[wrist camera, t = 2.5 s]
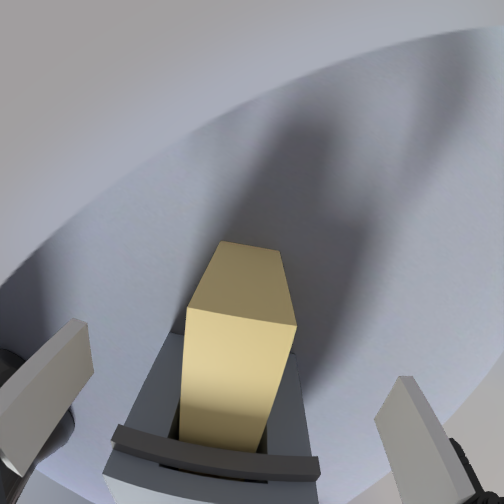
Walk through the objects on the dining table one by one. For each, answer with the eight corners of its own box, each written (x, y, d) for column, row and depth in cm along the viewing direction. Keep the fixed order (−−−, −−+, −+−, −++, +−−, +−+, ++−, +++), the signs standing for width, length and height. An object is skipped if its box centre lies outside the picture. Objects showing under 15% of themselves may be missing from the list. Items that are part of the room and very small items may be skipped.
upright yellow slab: (200, 392, 24) (178, 484, 14) (220, 240, 20) (187, 307, 10) (244, 400, 24) (239, 494, 14) (279, 250, 20) (297, 326, 10)
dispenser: (167, 425, 25) (134, 535, 12) (169, 323, 22) (98, 466, 9) (264, 441, 25) (264, 556, 12) (297, 345, 22) (325, 501, 9)
